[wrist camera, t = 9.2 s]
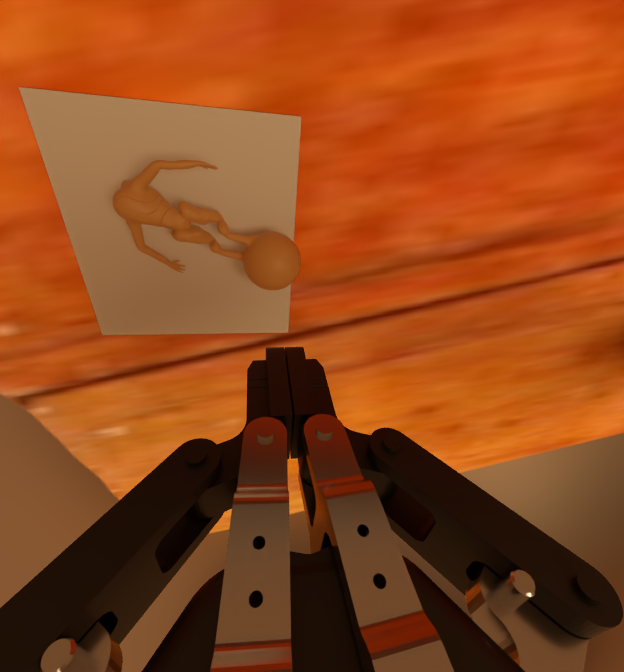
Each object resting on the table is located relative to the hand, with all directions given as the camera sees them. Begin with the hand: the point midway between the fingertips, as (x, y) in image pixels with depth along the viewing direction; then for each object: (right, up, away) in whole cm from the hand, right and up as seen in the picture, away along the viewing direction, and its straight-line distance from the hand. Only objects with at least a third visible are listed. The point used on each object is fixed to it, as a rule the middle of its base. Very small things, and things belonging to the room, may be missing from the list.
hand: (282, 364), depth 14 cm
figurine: (0, +5, +9) cm, 10 cm away
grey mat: (-8, +8, +10) cm, 15 cm away
